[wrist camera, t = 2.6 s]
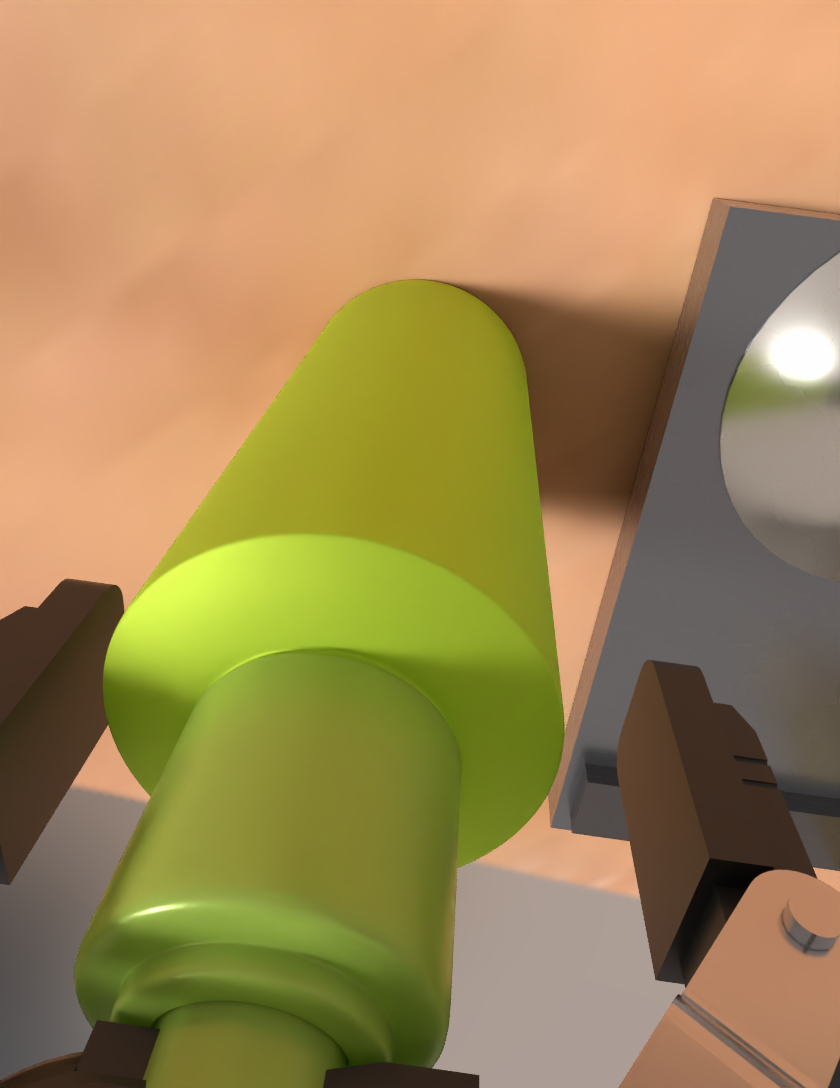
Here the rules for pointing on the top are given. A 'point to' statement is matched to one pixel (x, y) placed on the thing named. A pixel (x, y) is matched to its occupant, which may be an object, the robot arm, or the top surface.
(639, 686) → the robot arm
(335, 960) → the soap dispenser
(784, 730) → the plate
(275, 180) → the top surface
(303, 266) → the top surface
